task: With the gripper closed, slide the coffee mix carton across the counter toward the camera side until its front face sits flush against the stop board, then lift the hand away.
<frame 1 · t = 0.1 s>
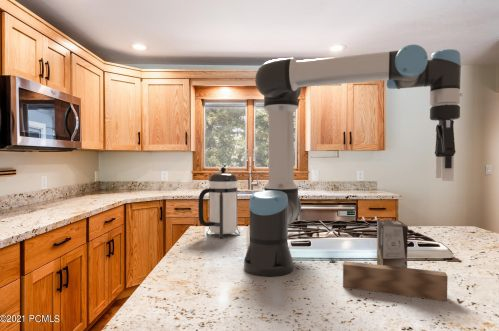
hand: (443, 179, 97), 28 cm above the countertop, tool pointing down, fingers open, 13 cm apart
coffee box: (391, 280, 93), on the countertop
coffee press: (221, 235, 147), on the countertop
stop board: (392, 291, 85), on the countertop
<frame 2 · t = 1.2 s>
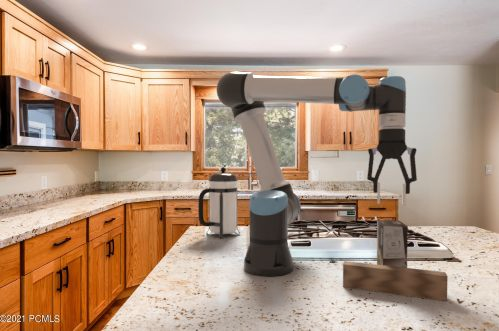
hand: (391, 203, 103), 20 cm above the countertop, tool pointing down, fingers open, 6 cm apart
nothing on the countertop moved.
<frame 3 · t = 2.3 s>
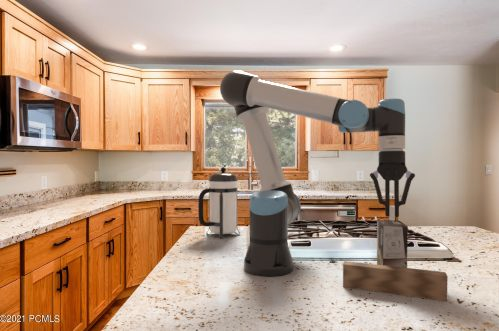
hand: (392, 227, 103), 13 cm above the countertop, tool pointing down, fingers closed
nothing on the countertop moved.
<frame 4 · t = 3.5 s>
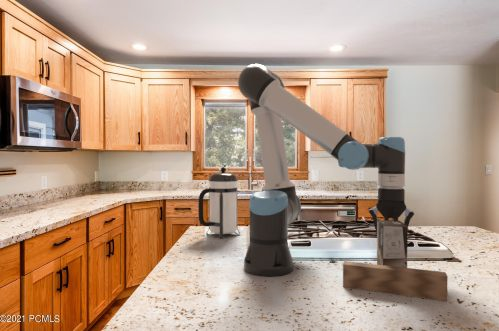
hand: (390, 264, 103), 1 cm above the countertop, tool pointing down, fingers closed
nothing on the countertop moved.
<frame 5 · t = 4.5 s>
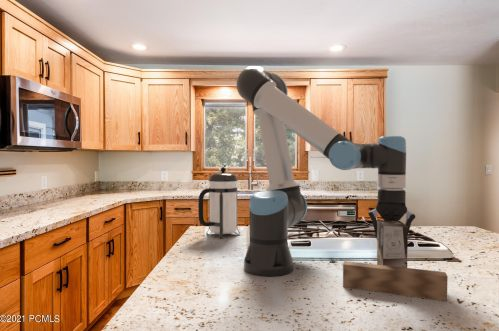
hand: (390, 268, 99), 1 cm above the countertop, tool pointing down, fingers closed
coffee box: (391, 281, 93), on the countertop, touching gripper
everything else where it was.
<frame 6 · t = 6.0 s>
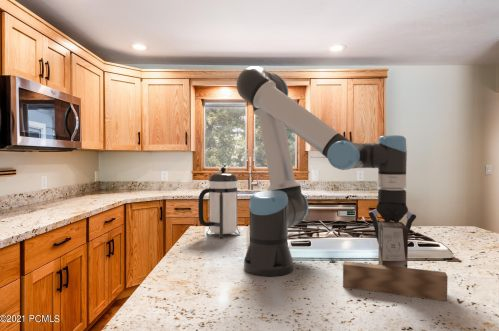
hand: (391, 269, 98), 1 cm above the countertop, tool pointing down, fingers closed
coffee box: (392, 283, 91), on the countertop
everything else where it was.
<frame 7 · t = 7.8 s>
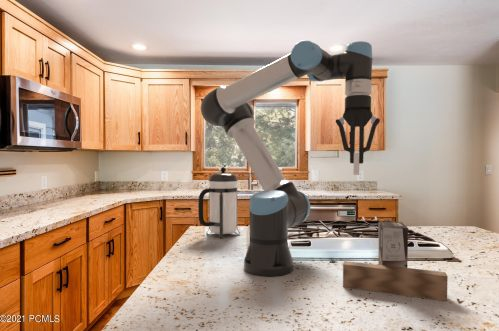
hand: (356, 174, 101), 29 cm above the countertop, tool pointing down, fingers closed
nothing on the countertop moved.
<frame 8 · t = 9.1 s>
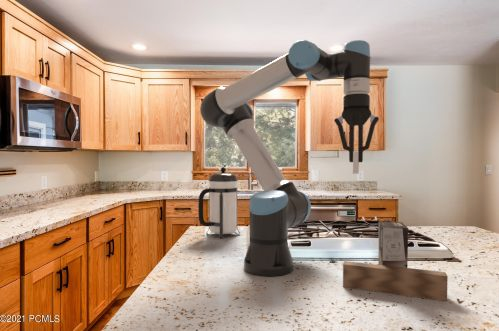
hand: (355, 173, 101), 29 cm above the countertop, tool pointing down, fingers closed
nothing on the countertop moved.
at the end: coffee box 0.6 cm from the target spot on the countertop beside the stop board, on the countertop; coffee box tilted 0° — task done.
